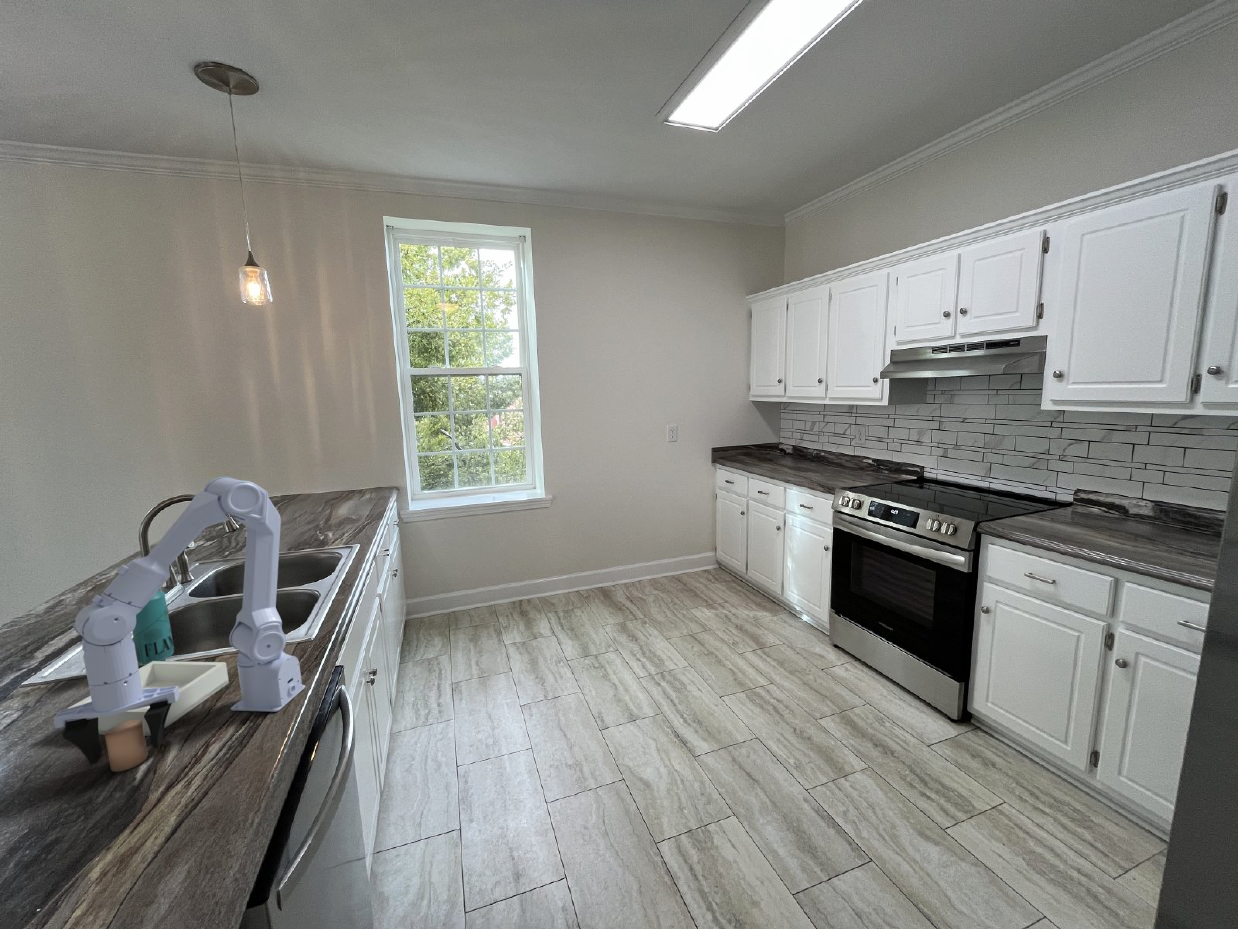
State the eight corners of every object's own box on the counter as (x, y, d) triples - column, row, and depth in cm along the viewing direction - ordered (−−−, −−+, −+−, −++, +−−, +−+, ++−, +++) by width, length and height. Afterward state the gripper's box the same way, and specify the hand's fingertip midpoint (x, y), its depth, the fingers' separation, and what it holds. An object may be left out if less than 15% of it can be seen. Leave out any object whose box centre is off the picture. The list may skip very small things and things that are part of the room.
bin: (228, 683, 104) (225, 662, 104) (154, 736, 89) (149, 712, 88) (156, 681, 105) (152, 661, 105) (69, 733, 90) (64, 710, 89)
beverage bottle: (143, 674, 108) (127, 585, 105) (132, 665, 112) (117, 579, 109) (181, 660, 114) (167, 575, 111) (170, 652, 117) (156, 570, 114)
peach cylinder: (155, 752, 85) (149, 719, 84) (128, 772, 80) (122, 738, 79) (131, 751, 85) (125, 719, 84) (103, 771, 80) (96, 737, 80)
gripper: (180, 652, 87) (191, 724, 89) (65, 674, 81) (80, 751, 83) (165, 673, 81) (178, 749, 83) (39, 698, 74) (56, 780, 76)
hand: (127, 752), depth 82 cm, fingers open, 7 cm apart
